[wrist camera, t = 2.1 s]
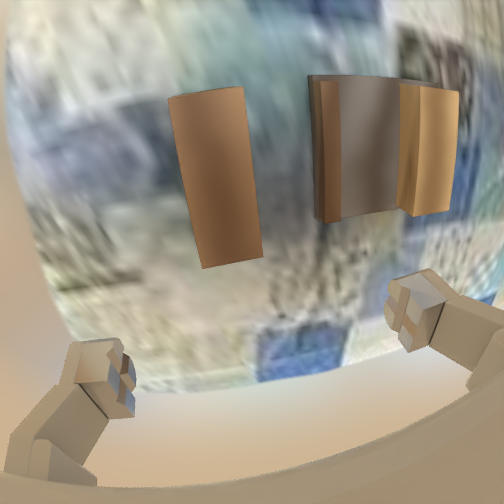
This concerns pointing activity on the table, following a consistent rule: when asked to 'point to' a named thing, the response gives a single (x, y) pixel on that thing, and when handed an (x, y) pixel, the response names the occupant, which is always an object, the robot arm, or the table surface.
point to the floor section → (381, 145)
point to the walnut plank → (218, 174)
